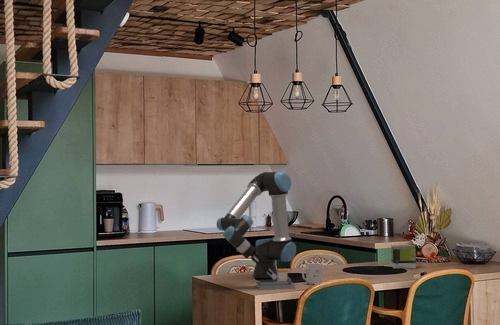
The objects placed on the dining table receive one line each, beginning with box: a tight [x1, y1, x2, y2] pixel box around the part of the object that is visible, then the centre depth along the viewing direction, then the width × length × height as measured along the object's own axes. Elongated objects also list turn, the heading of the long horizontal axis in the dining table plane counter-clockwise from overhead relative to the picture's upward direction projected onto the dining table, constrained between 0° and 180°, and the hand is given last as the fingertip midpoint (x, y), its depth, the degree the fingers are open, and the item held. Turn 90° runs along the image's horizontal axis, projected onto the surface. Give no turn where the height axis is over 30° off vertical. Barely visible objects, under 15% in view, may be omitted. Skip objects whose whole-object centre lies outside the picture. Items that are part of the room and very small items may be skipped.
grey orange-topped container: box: [276, 268, 288, 282], centre depth 389 cm, size 5×5×8 cm
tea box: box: [390, 244, 417, 269], centre depth 458 cm, size 15×10×15 cm, turn 84°
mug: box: [301, 263, 323, 286], centre depth 397 cm, size 12×9×11 cm
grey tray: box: [255, 276, 296, 291], centre depth 388 cm, size 20×13×5 cm, turn 97°
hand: (275, 278), depth 388 cm, fingers closed
